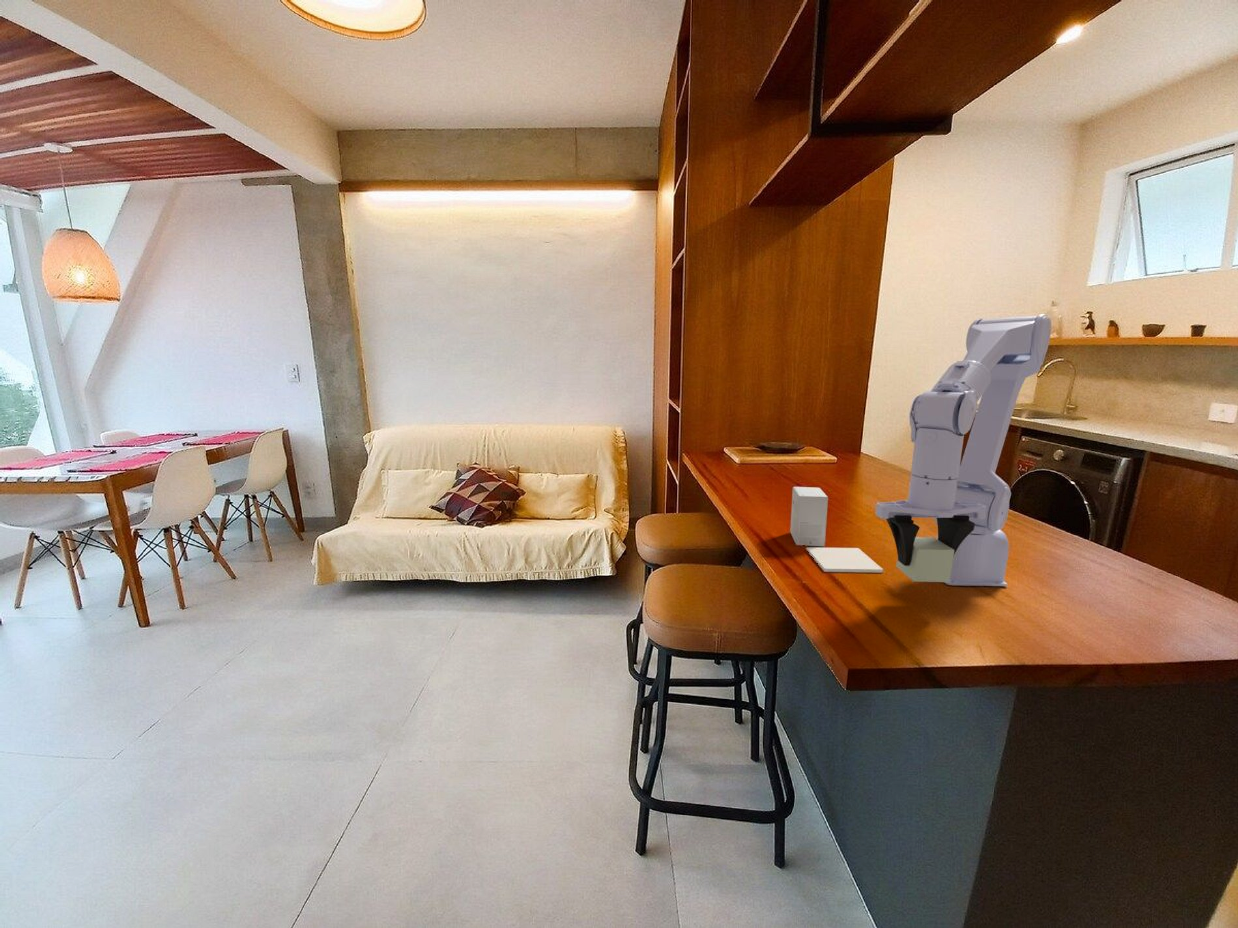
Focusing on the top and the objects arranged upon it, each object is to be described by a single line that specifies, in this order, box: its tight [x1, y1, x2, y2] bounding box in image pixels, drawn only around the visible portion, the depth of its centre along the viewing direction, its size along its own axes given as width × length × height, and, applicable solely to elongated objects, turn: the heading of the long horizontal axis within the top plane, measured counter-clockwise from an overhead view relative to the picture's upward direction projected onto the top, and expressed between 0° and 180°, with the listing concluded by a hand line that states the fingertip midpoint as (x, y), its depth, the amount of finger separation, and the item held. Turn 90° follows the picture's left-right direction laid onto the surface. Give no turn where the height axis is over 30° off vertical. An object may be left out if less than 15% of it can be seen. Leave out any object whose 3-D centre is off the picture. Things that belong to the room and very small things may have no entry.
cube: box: [896, 536, 954, 583], centre depth 71 cm, size 5×5×5 cm
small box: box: [789, 486, 829, 547], centre depth 98 cm, size 8×6×10 cm
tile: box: [805, 546, 884, 574], centre depth 88 cm, size 10×10×1 cm
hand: (923, 563), depth 71 cm, fingers closed on cube, 5 cm apart
